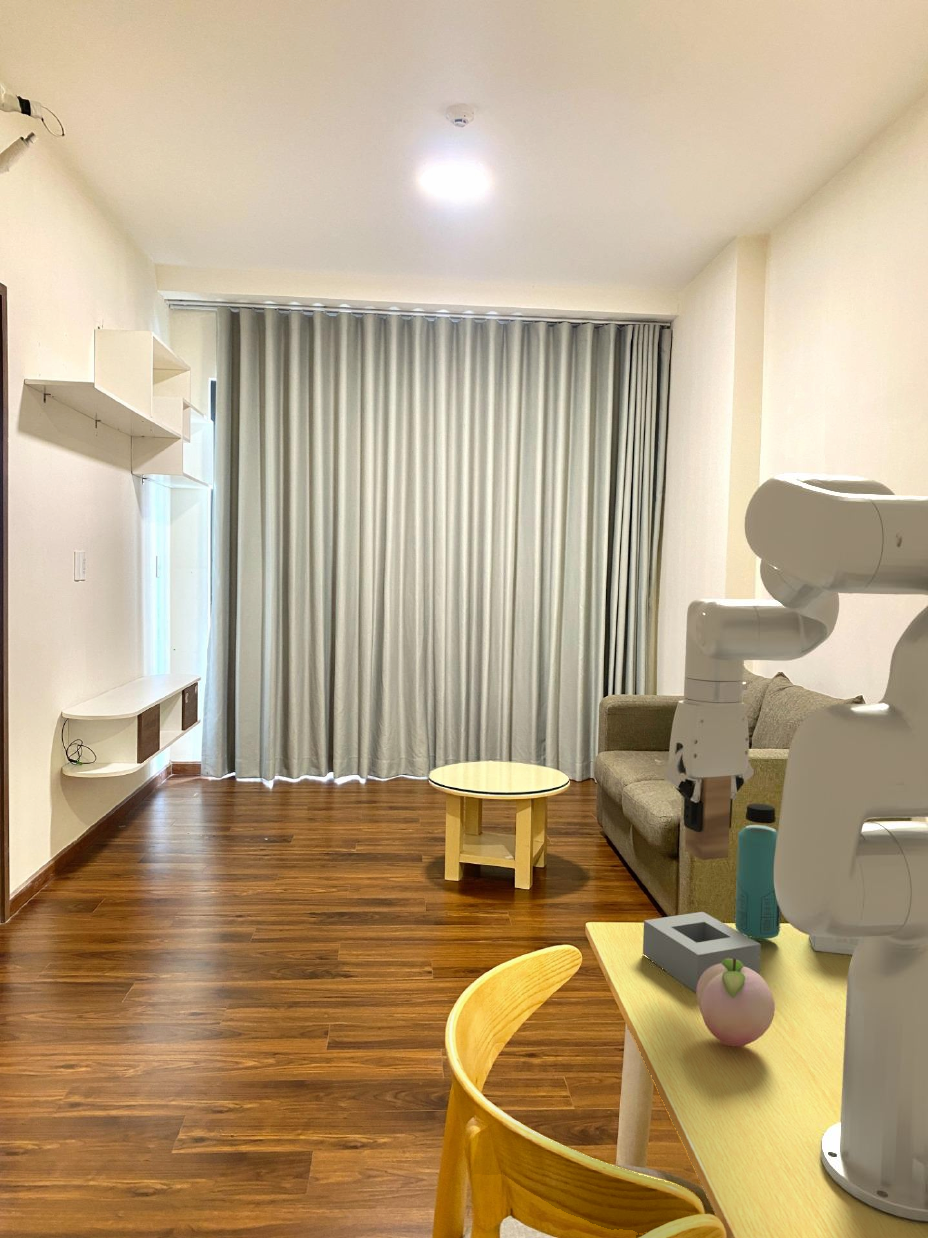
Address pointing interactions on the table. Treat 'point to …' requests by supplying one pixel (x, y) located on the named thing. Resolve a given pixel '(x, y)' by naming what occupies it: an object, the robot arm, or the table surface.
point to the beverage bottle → (757, 876)
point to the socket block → (696, 946)
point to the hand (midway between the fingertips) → (707, 826)
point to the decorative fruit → (735, 1002)
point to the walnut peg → (712, 820)
